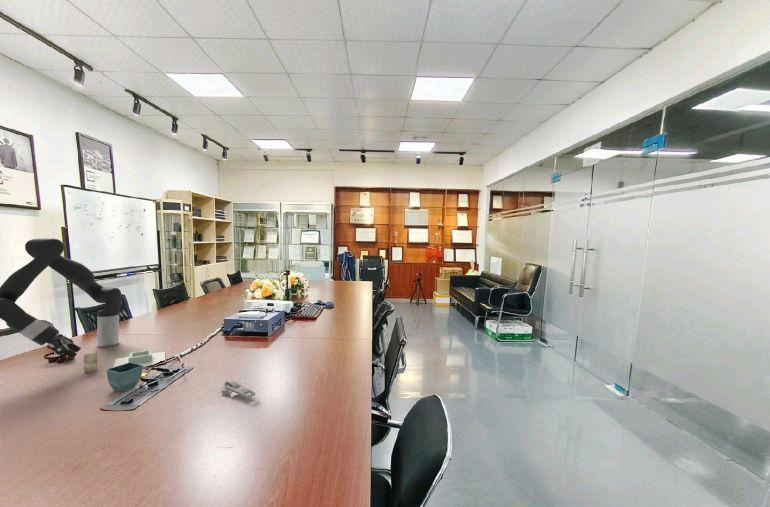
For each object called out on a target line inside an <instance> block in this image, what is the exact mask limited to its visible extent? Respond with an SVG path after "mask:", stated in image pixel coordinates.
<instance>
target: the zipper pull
mask: <svg viewBox="0 0 770 507" xmlns="http://www.w3.org/2000/svg"><path fill="white" fill-rule="evenodd" d="M232 392H235V393H237V394H239V395H238V396H241V397H244V398H246V399H249V398H252V397H254V396H256V392H255V391H254V390H252V389H250V388H248V387H246V386H244V385H242V383H241V382H238V381H235V380H233V379H230V380H228V381H225V382H224V385H222V387H221V393H222V395H229V396H230V397H231V393H232ZM222 395H221V396H222ZM229 396H228V397H229ZM230 397H229V398H230Z"/></svg>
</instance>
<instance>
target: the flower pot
mask: <svg viewBox="0 0 770 507" xmlns="http://www.w3.org/2000/svg"><path fill="white" fill-rule="evenodd" d="M143 370H144V368H143V365H140V364H136V363H132V362H129V363H126V364H123V365H119V366H116V367H113V366H112V367H111V368H107V369H106V376H107V382H108V384H109V385H110V387H111V388H112V389H113V390H114V391H117V392H121V393H123V392H126V391H128V390H130V389H133V388H135V387H136V386H137V385H138V383H139V382H140V380H141V378H142V374H143Z"/></svg>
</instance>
